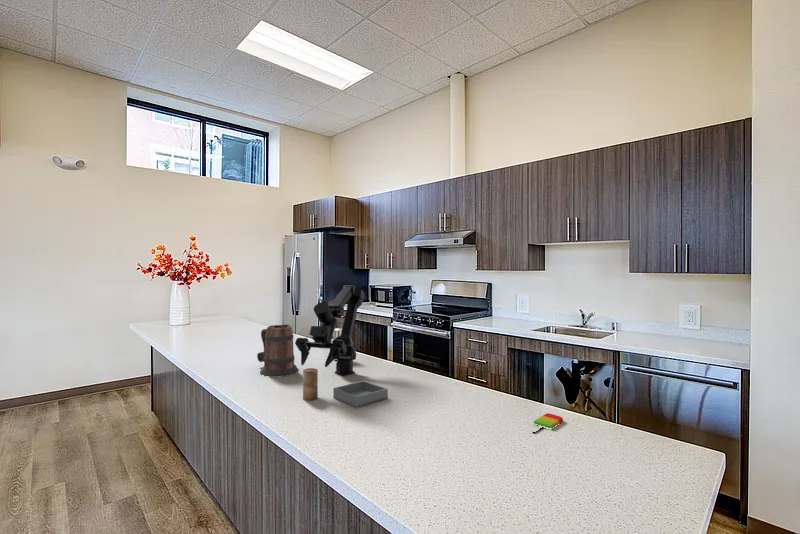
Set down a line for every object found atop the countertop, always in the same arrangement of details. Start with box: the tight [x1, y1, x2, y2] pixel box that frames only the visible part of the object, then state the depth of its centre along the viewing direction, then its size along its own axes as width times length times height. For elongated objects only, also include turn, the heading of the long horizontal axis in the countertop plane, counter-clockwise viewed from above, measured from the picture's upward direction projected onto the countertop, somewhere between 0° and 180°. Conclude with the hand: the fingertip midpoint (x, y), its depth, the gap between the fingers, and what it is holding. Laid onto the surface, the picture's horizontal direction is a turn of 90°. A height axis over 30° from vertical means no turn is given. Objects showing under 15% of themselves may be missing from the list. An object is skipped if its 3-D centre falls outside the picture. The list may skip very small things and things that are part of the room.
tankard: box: [256, 324, 300, 377], centre depth 178 cm, size 24×17×20 cm
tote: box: [332, 380, 389, 409], centre depth 142 cm, size 14×14×4 cm
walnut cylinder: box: [302, 367, 319, 402], centre depth 141 cm, size 5×5×10 cm
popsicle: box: [533, 413, 564, 428], centre depth 119 cm, size 6×15×2 cm, turn 135°
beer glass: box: [330, 327, 343, 360], centre depth 198 cm, size 7×7×15 cm
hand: (313, 365), depth 144 cm, fingers open, 9 cm apart
